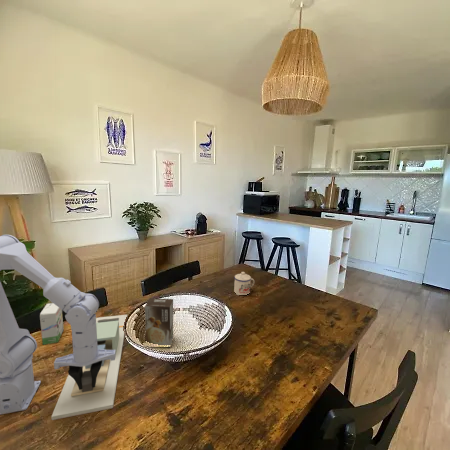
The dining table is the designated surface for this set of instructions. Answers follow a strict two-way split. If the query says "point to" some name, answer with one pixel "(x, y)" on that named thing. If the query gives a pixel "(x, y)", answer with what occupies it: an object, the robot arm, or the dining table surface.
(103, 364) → the block
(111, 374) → the deck
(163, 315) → the coffee box
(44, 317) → the ink box
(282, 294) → the dining table surface
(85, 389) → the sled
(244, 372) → the dining table surface
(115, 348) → the tunnel
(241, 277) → the teacup with lid
